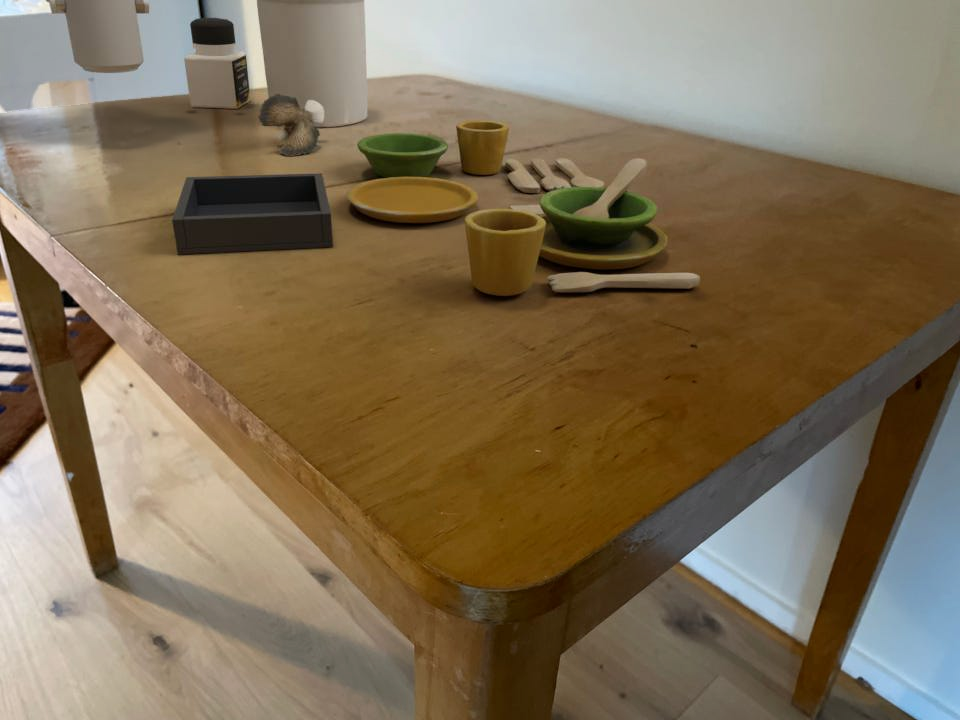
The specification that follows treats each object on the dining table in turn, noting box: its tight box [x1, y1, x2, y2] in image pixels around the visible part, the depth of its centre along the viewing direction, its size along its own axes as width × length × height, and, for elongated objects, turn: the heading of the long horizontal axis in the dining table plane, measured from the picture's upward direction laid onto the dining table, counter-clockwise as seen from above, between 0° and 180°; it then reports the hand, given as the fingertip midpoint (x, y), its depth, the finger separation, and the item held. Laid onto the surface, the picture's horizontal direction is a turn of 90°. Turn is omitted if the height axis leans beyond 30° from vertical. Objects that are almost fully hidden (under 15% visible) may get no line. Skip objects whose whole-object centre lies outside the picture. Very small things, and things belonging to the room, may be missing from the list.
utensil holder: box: [256, 0, 368, 128], centre depth 108 cm, size 15×15×18 cm
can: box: [64, 0, 145, 74], centre depth 89 cm, size 8×8×12 cm
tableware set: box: [345, 119, 701, 297], centre depth 74 cm, size 41×28×6 cm
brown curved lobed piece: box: [257, 94, 325, 157], centre depth 96 cm, size 8×7×9 cm
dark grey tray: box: [171, 172, 334, 256], centre depth 70 cm, size 13×13×3 cm
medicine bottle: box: [183, 17, 251, 110], centre depth 116 cm, size 7×7×12 cm
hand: (102, 10), depth 88 cm, fingers closed on can, 7 cm apart
